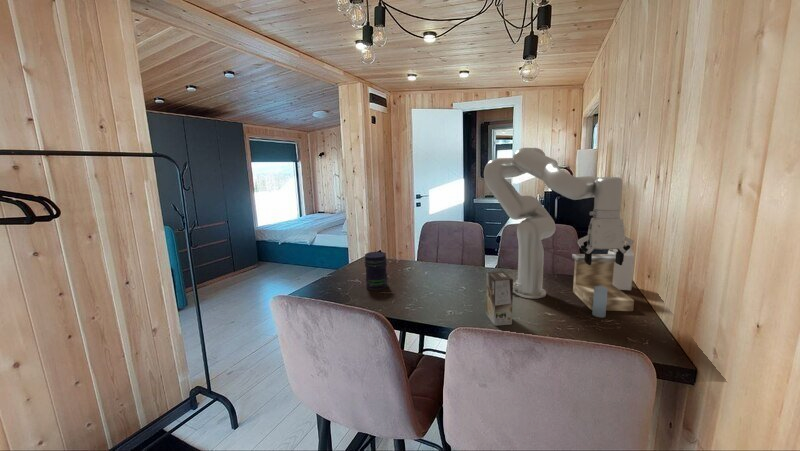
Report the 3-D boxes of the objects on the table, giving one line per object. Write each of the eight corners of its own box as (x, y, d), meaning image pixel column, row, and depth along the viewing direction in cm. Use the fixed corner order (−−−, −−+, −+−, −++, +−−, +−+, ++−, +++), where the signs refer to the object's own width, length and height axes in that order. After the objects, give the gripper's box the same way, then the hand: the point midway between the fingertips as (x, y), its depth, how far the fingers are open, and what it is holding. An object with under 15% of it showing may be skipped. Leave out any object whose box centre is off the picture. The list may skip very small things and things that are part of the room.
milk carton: (631, 290, 137) (635, 246, 133) (612, 290, 138) (615, 245, 135) (623, 284, 143) (627, 242, 140) (605, 284, 145) (608, 241, 142)
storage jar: (389, 282, 157) (387, 251, 154) (386, 289, 147) (384, 257, 144) (368, 282, 158) (366, 251, 155) (364, 289, 148) (362, 257, 145)
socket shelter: (588, 309, 120) (591, 267, 118) (570, 290, 138) (572, 254, 136) (636, 311, 118) (640, 268, 115) (611, 291, 136) (614, 254, 133)
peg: (595, 317, 115) (597, 290, 113) (590, 312, 119) (592, 285, 117) (607, 317, 114) (609, 290, 112) (602, 312, 118) (604, 286, 116)
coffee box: (512, 324, 111) (514, 279, 109) (494, 326, 111) (495, 280, 108) (502, 313, 120) (503, 270, 118) (485, 314, 120) (485, 271, 117)
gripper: (583, 216, 108) (580, 267, 111) (641, 215, 105) (637, 267, 108) (574, 213, 115) (572, 261, 118) (628, 212, 113) (625, 261, 116)
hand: (603, 264), depth 113 cm, fingers open, 9 cm apart
